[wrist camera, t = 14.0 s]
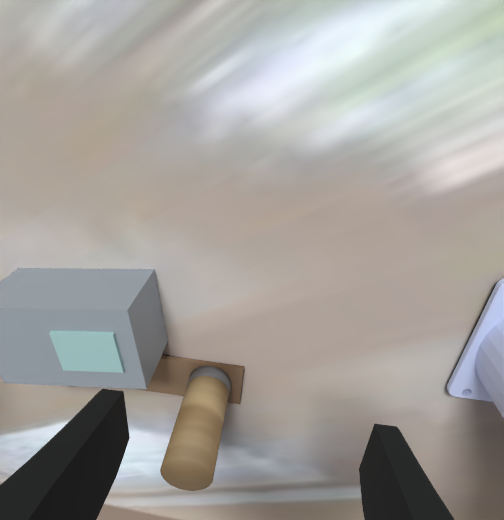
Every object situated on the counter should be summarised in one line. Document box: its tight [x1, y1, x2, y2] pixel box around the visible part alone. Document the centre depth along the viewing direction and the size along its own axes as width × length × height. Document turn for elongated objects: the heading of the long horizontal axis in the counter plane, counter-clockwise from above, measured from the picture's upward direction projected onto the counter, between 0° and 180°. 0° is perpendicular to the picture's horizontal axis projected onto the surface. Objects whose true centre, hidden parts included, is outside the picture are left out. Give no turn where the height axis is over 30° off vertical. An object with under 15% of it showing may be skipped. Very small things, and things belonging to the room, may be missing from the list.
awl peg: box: [160, 366, 231, 491], centre depth 21 cm, size 3×3×6 cm
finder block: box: [0, 268, 168, 389], centre depth 20 cm, size 8×5×4 cm, turn 92°
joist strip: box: [139, 355, 244, 404], centre depth 24 cm, size 16×3×1 cm, turn 84°
